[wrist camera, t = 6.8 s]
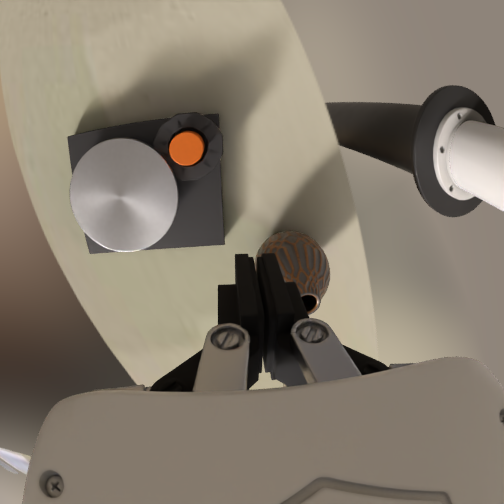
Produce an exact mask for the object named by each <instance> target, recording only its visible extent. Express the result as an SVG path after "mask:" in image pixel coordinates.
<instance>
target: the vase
mask: <svg viewBox="0 0 504 504" xmlns="http://www.w3.org/2000/svg"><path fill="white" fill-rule="evenodd" d="M262 253H275V255H276V258H277V261H278V264H279V267H280V270H281V273H282V275H283V278H284V281H285V282H295V283H296V285H297V287H298V290H299V293H300V295H301V298H302V300H303V303H304V305H305V308H306V311H307V313H308V315H310V314H312V313H314V312H315V311H316V310H317V309H318V308H319V306H320V303H321V299H322V297H323V296H324V294H325V293H326V291H327V288H328V285H329V281H330V268H329V263H328V260H327V257H326V255H325V253H324V251H323V250H322V248H321V247H320V246H319V245H318V244H317V243H316V242H315V241H314V240H313V239H312V238H310V237H309V236H307V235H305V234H302V233H299V232H295V231H285V232H280V233H277V234H275V235H273V236H271V237H270V238H268V239H267V240H266V241H265V242H264V243H263V244H262V246H261V247H260V249H259V251H258V253H257V255H256V259H255V269H256V261H257V257H261V254H262Z"/></svg>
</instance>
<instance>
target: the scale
mask: <svg viewBox="0 0 504 504" xmlns="http://www.w3.org/2000/svg"><path fill="white" fill-rule="evenodd" d="M184 131H194V132H196V133H198V134H199V135H200V136H201V137H202V139H203V141H204V152H203V154H202V156H201V158H200V159H199V160H198V161H197V162H196V163H194V164H192V165H180V164H178V163H176V162H175V161H174V160H173V159H172V157H171V155H170V152H169V146H170V143H171V141H172V139H173V138H174V137H175V136H176V135H178V134H179V133H181V132H184ZM114 138H133V139H137V140H140V141H143V142H145V143H147V144H149V145H151V146H152V147H154V148H155V149H157V150H158V151H159V152H160V153H161V154H162V155H163V156H164V157H165V159H166V160H167V161H168V163H169V164H170V166H171V167H172V169H173V172H174V174H175V176H176V180H177V183H178V189H179V202H178V209H177V213H176V216H175V218H174V221H173V223H172V225H171V227H170V228H169V230H168V231H167V232H166V234H165V235H164V236H163V237H162V238H161V239H160V240H159V241H157V242H156V243H155V244H153V245H151V246H149V247H147V248H145V249H142V250H151V249H166V248H181V247H196V246H211V245H225V240H224V223H223V205H222V186H221V164H220V159H221V157H222V155H223V136H222V133H221V131H220V130H219V114H208V115H202V114H199V113H196V112H194V113H183V114H177V115H175V116H173V117H172V118H165V119H157V120H150V121H143V122H136V123H130V124H124V125H119V126H113V127H108V128H103V129H98V130H93V131H89V132H85V133H80V134H76V135H72V136H68V145H69V154H70V161H71V168H72V175H73V172H74V170H75V168H76V166H77V164H78V162H79V161H80V159H81V158H82V157H83V156H84V154H85V153H86V152H87V151H89V150H90V149H91V148H92V147H94V146H95V145H97V144H99V143H101V142H104V141H106V140H110V139H114ZM84 233H85V232H84ZM85 237H86V241H87V245H88V249H89V252H90V254H96V253H109V252H121V251H115V250H111V249H108V248H106V247H103V246H102V245H100V244H98V243H96V242H95V241H94V240H92V239H91V238H90V237H89V236H88V235H87V234H86V233H85Z"/></svg>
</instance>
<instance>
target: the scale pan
mask: <svg viewBox="0 0 504 504" xmlns="http://www.w3.org/2000/svg"><path fill="white" fill-rule="evenodd" d="M70 202H71V207H72V210H73V213H74V216H75V218H76V220H77V222H78V224H79V225H80V227H81V228H82V230H83V231H84V232H85V233H86V234H87V235H88V236H89V237H90V238H91V239H92V240H94V241H95V242H96V243H98V244H100V245H102V246H103V247H106V248H108V249H111V250H115V251H121V252H132V251H138V250H142V249H145V248H147V247H149V246H151V245H153V244H155V243H156V242H157V241H159V240H160V239H161V238H162V237H163V236H164V235H165V234H166V232H167V231H168V230H169V228H170V227H171V225H172V223H173V221H174V218H175V216H176V213H177V209H178V202H179V189H178V183H177V180H176V176H175V174H174V172H173V169H172V167H171V166H170V164H169V163H168V161H167V160H166V159H165V157H164V156H163V155H162V154H161V153H160V152H159V151H158V150H157V149H155V148H154V147H152V146H151V145H149V144H147V143H145V142H143V141H140V140H137V139H133V138H114V139H110V140H106V141H104V142H101V143H99V144H97V145H95V146H94V147H92V148H91V149H90V150H89V151H87V152H86V153H85V154H84V156H83V157H82V158H81V159H80V161H79V162H78V164H77V166H76V168H75V170H74V172H73V175H72V179H71V183H70Z"/></svg>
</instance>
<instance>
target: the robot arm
mask: <svg viewBox="0 0 504 504" xmlns="http://www.w3.org/2000/svg"><path fill="white" fill-rule="evenodd" d="M433 162H434V169H435V173H436V177H437V179H438V182H439V184H440V185H441V187H442V189H443V190H444V191H445V192H446V193H447V194H448V195H450V196H452V197H453V198H456V199H458V200H467V199H470V198H472V197H474V196H476V197H478V198H480V199H482V200H484V201H486V202H487V203H489V204H491V205H493V206H495V207H496V208H498V209H500V210H502V211H504V128H502V127H498V126H494V125H490V124H487V123H486V121H485V120H484V118H483V117H482V116H481V115H480V114H479V113H478V112H477V111H475V110H473V109H470V108H464V107H459V108H455V109H453V110H451V111H450V112H448V113H447V114H446V115H445V116H444V118H443V119H442V121H441V123H440V124H439V127H438V129H437V132H436V136H435V140H434V147H433ZM235 282H236V284H231V285H218V325H217V326H215V327H213V328H212V329H210V330H209V331H208V333H207V335H206V339H205V343H204V347H203V349H202V350H201V351H199V352H198V353H196V354H195V355H194V356H192V357H191V358H189V359H188V360H186V361H185V362H184V363H182V364H181V365H179V366H178V367H176V368H175V369H174V370H172V371H171V372H169V373H168V374H166V375H165V376H163V377H162V378H160V379H159V380H157V381H156V382H155V383H154V384H153V386H152V387H145V386H144V385H137V386H128V387H120V388H110V389H100V390H93V391H90V392H86V393H82V394H78V395H73V396H70V397H68V398H65V399H63V400H61V401H60V402H58V403H57V404H56V405H55V406H54V407H53V408H52V409H51V410H50V412H49V413H48V415H47V417H46V419H45V421H44V423H43V425H42V427H41V429H40V432H39V434H38V437H37V440H36V443H35V446H34V449H33V453H32V456H31V460H30V463H29V468H28V473H27V478H26V483H25V489H24V495H23V502H22V504H504V388H503V387H502V385H501V384H500V383H499V381H498V380H497V379H496V377H495V376H494V375H493V374H492V372H491V371H490V370H489V369H488V368H487V367H486V366H485V365H484V364H483V363H481V362H480V361H478V360H475V359H472V358H467V357H444V358H438V359H433V360H429V361H424V362H419V363H410V364H390V366H389V367H387V366H386V365H385V364H383V363H381V362H380V361H377V360H375V359H373V358H370V357H368V356H366V355H364V354H362V353H359V352H357V351H355V350H353V349H351V348H348V347H346V346H344V345H342V344H341V342H340V341H339V339H338V338H337V336H336V335H335V333H334V332H333V330H332V329H331V327H330V326H329V325H328V324H327V323H325V322H323V321H321V320H318V319H314V318H309V316H308V313H307V311H306V308H305V305H304V303H303V300H302V298H301V295H300V293H299V290H298V287H297V285H296V283H295V282H285V281H284V278H283V275H282V273H281V270H280V267H279V264H278V261H277V258H276V255H275V253H262V254H261V257H257V261H256V269H255V264H254V259H253V257H248V254H235ZM262 356H263V361H264V368H265V372H270V374H271V379H272V380H276V379H277V380H278V381H280V382H282V383H283V387H281V388H270V389H258V390H249V388H250V387H251V386H253V385H254V384H255V383H256V382H257V381H258V377H259V373H261V372H262Z"/></svg>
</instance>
